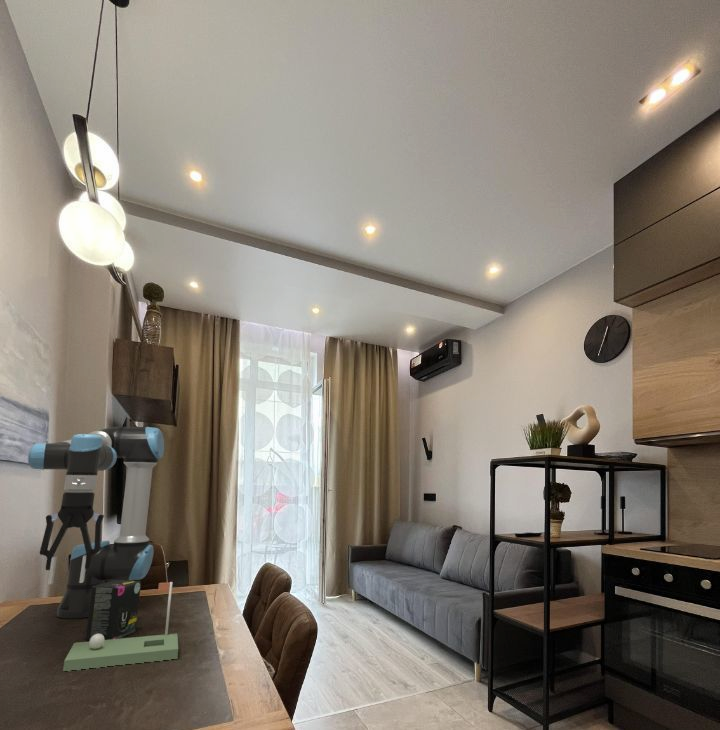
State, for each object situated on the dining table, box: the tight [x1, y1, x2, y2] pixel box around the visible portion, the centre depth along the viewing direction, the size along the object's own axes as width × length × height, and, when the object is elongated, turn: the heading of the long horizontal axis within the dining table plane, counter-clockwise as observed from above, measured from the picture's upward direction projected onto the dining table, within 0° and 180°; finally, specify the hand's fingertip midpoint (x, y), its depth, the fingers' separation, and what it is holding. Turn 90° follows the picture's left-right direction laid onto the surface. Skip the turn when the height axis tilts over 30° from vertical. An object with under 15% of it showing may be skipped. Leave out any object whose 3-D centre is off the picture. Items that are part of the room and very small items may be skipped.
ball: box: [88, 634, 105, 649], centre depth 126 cm, size 4×4×4 cm
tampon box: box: [85, 580, 142, 641], centre depth 146 cm, size 11×9×15 cm
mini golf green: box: [62, 581, 179, 672], centre depth 130 cm, size 14×26×16 cm, turn 111°
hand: (66, 582), depth 127 cm, fingers open, 6 cm apart
